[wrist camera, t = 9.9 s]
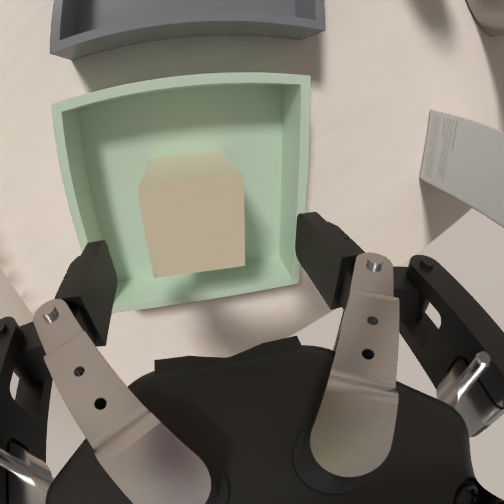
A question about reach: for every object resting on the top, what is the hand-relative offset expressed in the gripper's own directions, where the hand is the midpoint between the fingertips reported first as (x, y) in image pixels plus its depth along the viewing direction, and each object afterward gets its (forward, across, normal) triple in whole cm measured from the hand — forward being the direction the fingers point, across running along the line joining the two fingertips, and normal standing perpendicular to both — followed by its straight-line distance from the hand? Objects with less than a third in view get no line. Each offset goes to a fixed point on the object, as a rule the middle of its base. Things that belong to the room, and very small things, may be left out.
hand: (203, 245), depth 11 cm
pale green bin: (+8, 0, 0) cm, 8 cm away
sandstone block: (+8, 0, 0) cm, 8 cm away
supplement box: (+9, -25, -3) cm, 26 cm away
